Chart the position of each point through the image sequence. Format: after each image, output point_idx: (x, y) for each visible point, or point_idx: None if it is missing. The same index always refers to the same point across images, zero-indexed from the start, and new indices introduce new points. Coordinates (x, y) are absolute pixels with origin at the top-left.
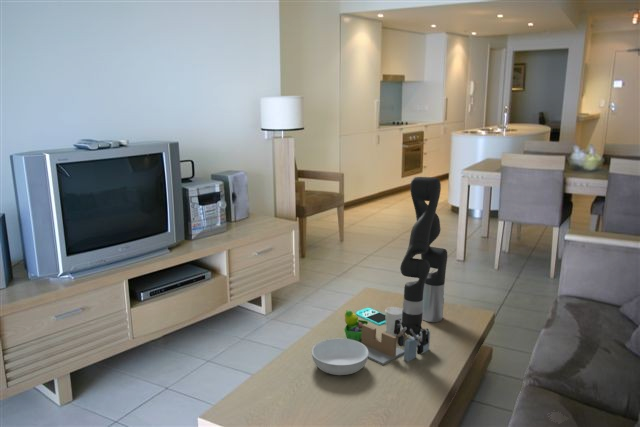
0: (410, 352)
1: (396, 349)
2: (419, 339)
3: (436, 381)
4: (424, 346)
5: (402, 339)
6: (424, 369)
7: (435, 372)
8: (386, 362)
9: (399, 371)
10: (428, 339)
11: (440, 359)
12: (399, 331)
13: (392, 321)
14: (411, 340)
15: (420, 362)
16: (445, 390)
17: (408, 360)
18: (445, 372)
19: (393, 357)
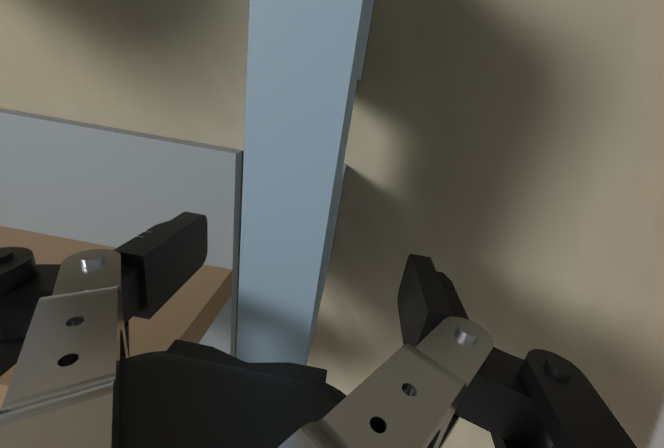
0: (325, 275)
1: (172, 177)
2: (340, 161)
3: (581, 369)
4: (369, 18)
5: (166, 266)
6: (468, 288)
7: (554, 284)
8: (233, 342)
9: (342, 374)
10: (624, 435)
11: (557, 61)
12: (28, 304)
13: None
14: (295, 339)
15: (409, 219)
16: (650, 419)
17: (329, 260)
18: (632, 247)
19: (232, 290)
